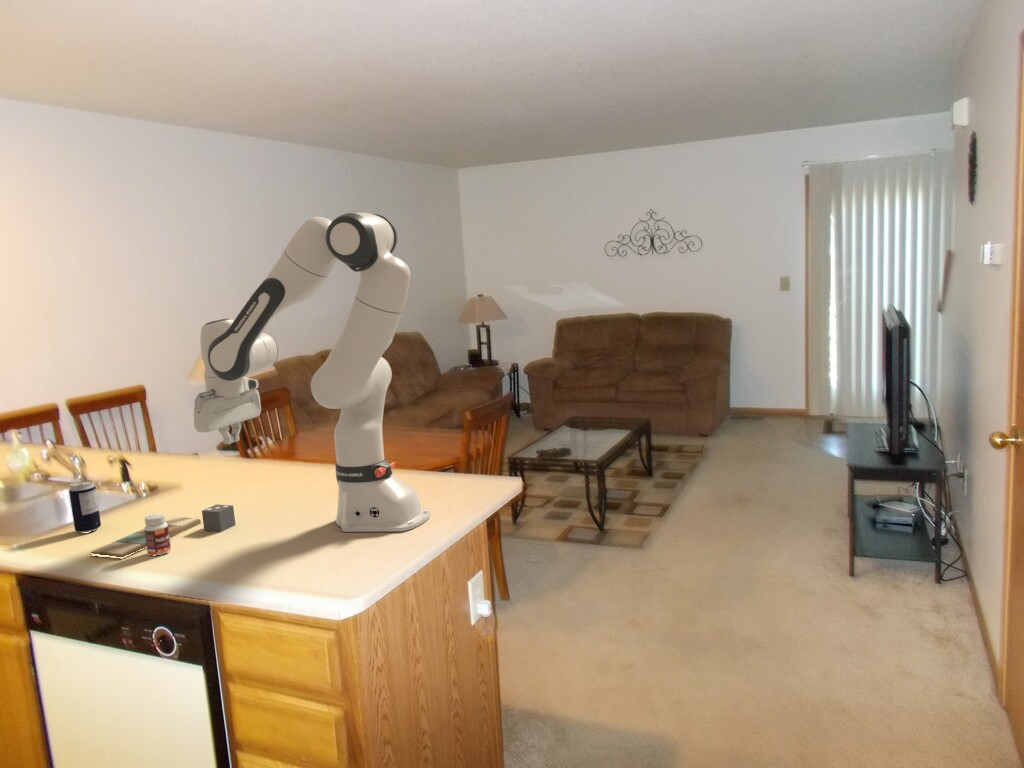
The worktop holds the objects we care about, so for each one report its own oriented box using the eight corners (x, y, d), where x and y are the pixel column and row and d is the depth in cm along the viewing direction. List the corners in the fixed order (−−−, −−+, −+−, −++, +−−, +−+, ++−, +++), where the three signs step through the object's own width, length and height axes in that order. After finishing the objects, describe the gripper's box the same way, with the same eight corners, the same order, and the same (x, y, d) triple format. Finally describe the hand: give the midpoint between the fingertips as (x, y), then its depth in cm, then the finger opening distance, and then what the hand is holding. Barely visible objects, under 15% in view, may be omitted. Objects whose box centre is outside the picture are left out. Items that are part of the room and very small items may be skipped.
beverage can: (102, 525, 197) (95, 478, 195) (100, 532, 192) (93, 484, 190) (77, 529, 195) (70, 482, 193) (73, 536, 190) (66, 487, 188)
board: (200, 523, 194) (200, 518, 193) (122, 559, 171) (121, 553, 171) (172, 521, 197) (171, 516, 197) (91, 556, 175) (90, 550, 174)
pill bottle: (159, 557, 171) (154, 520, 170) (142, 556, 173) (137, 519, 172) (176, 550, 175) (171, 513, 174) (159, 548, 177) (154, 512, 176)
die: (235, 525, 191) (233, 504, 190) (221, 532, 186) (218, 511, 185) (218, 524, 192) (216, 504, 192) (204, 531, 188) (201, 510, 187)
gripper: (205, 394, 180) (212, 453, 182) (262, 379, 199) (268, 433, 201) (183, 394, 183) (191, 452, 185) (242, 380, 201) (248, 433, 204)
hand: (231, 442), depth 193 cm, fingers closed
